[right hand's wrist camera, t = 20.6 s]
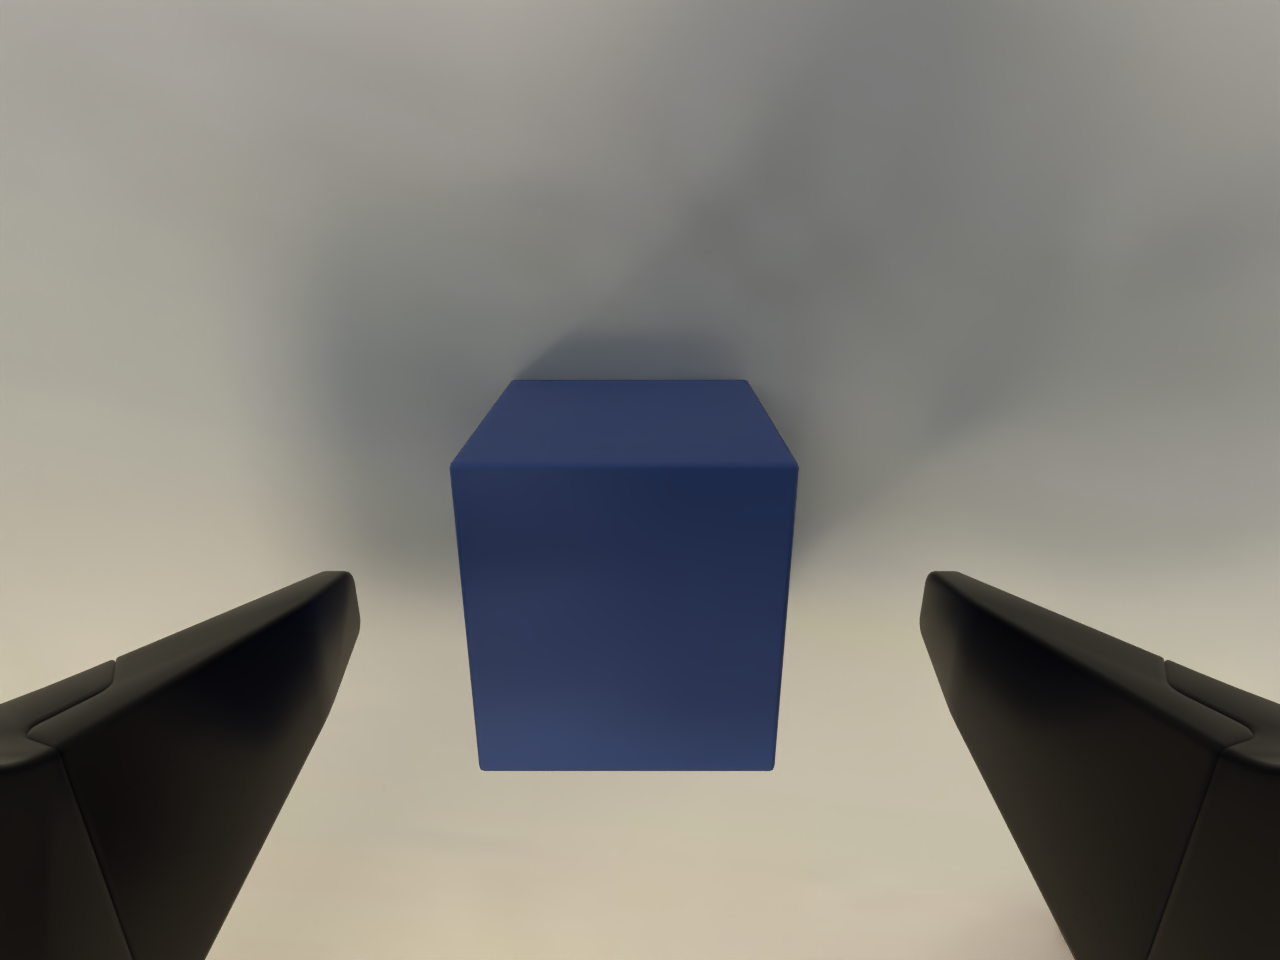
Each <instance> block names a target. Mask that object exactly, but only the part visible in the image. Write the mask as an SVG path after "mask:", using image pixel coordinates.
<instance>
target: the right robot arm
mask: <svg viewBox="0 0 1280 960" xmlns="http://www.w3.org/2000/svg"><path fill="white" fill-rule="evenodd" d="M359 630H360V614H359V607H358V601H357V595H356V588H355V582H354V579H353V576H352V575H351V574H350V573H349V572H346V571H324V572H321V573H318V574H316V575H313V576H311V577H309V578H306V579H304V580H302V581H299V582H297V583H294V584H292V585H290V586H287V587H285V588H282V589H280V590H278V591H275V592H273V593H270V594H268V595H266V596H263V597H261V598H259V599H256V600H254V601H251V602H249V603H247V604H244V605H242V606H239V607H237V608H235V609H232V610H230V611H227V612H225V613H223V614H220V615H218V616H215V617H213V618H211V619H208V620H206V621H204V622H201V623H199V624H196V625H194V626H192V627H189V628H187V629H184V630H182V631H180V632H177V633H175V634H172V635H170V636H168V637H165V638H163V639H161V640H158V641H156V642H153V643H151V644H149V645H146V646H144V647H141V648H139V649H137V650H134V651H132V652H129V653H127V654H125V655H122V656H120V657H118V658H117V659H116V662H115V661H114V660H110V661H108V662H105V663H103V664H101V665H98V666H96V667H93V668H91V669H89V670H86V671H84V672H81V673H79V674H76V675H74V676H71V677H69V678H66V679H64V680H61V681H59V682H57V683H54V684H52V685H49V686H47V687H44V688H41V689H39V690H36V691H34V692H31V693H28V694H26V695H23V696H20V697H18V698H15V699H13V700H10V701H7V702H5V703H2V704H0V960H205V959H206V957H207V955H208V953H209V951H210V949H211V947H212V945H213V943H214V941H215V939H216V937H217V935H218V933H219V931H220V929H221V927H222V925H223V923H224V921H225V919H226V917H227V915H228V913H229V911H230V909H231V907H232V905H233V903H234V901H235V899H236V897H237V895H238V893H239V891H240V889H241V887H242V885H243V884H244V882H245V880H246V878H247V876H248V874H249V872H250V870H251V868H252V866H253V864H254V862H255V860H256V858H257V856H258V854H259V852H260V850H261V848H262V846H263V844H264V842H265V840H266V838H267V836H268V834H269V832H270V830H271V828H272V826H273V824H274V822H275V820H276V818H277V816H278V814H279V812H280V810H281V808H282V806H283V804H284V802H285V801H286V799H287V797H288V795H289V793H290V791H291V789H292V787H293V785H294V783H295V781H296V779H297V777H298V775H299V773H300V771H301V769H302V767H303V765H304V763H305V761H306V759H307V757H308V755H309V753H310V751H311V749H312V747H313V745H314V743H315V741H316V739H317V737H318V735H319V733H320V731H321V729H322V727H323V725H324V723H325V721H326V719H327V717H328V715H329V713H330V710H331V708H332V705H333V703H334V700H335V698H336V695H337V692H338V689H339V686H340V684H341V681H342V678H343V675H344V673H345V670H346V667H347V664H348V662H349V659H350V656H351V653H352V651H353V648H354V645H355V642H356V640H357V637H358V634H359ZM920 630H921V634H922V637H923V640H924V642H925V645H926V648H927V651H928V653H929V656H930V659H931V662H932V664H933V667H934V670H935V673H936V675H937V678H938V681H939V684H940V686H941V689H942V692H943V695H944V698H945V700H946V703H947V705H948V708H949V710H950V713H951V715H952V717H953V719H954V721H955V723H956V725H957V727H958V729H959V731H960V733H961V735H962V737H963V739H964V741H965V743H966V745H967V747H968V749H969V751H970V753H971V755H972V757H973V759H974V761H975V763H976V765H977V767H978V769H979V771H980V773H981V775H982V777H983V779H984V781H985V783H986V785H987V787H988V789H989V791H990V793H991V795H992V797H993V799H994V801H995V803H996V804H997V806H998V808H999V810H1000V812H1001V814H1002V816H1003V818H1004V820H1005V822H1006V824H1007V826H1008V828H1009V830H1010V832H1011V834H1012V836H1013V838H1014V840H1015V842H1016V844H1017V846H1018V848H1019V850H1020V852H1021V854H1022V856H1023V858H1024V860H1025V862H1026V864H1027V866H1028V868H1029V870H1030V872H1031V874H1032V876H1033V878H1034V880H1035V882H1036V884H1037V885H1038V887H1039V889H1040V891H1041V893H1042V895H1043V897H1044V899H1045V901H1046V903H1047V905H1048V907H1049V909H1050V911H1051V913H1052V915H1053V917H1054V919H1055V921H1056V923H1057V925H1058V927H1059V929H1060V931H1061V933H1062V935H1063V937H1064V939H1065V941H1066V943H1067V945H1068V947H1069V949H1070V951H1071V953H1072V955H1073V957H1074V959H1075V960H1280V704H1278V703H1275V702H1273V701H1270V700H1267V699H1265V698H1262V697H1260V696H1257V695H1254V694H1252V693H1249V692H1246V691H1244V690H1241V689H1239V688H1236V687H1233V686H1231V685H1228V684H1226V683H1223V682H1221V681H1219V680H1216V679H1214V678H1211V677H1209V676H1206V675H1204V674H1201V673H1199V672H1196V671H1194V670H1191V669H1189V668H1187V667H1184V666H1182V665H1179V664H1177V663H1175V662H1172V661H1170V660H1166V661H1165V662H1164V659H1163V658H1162V657H1160V656H1158V655H1155V654H1153V653H1151V652H1148V651H1146V650H1143V649H1141V648H1139V647H1136V646H1134V645H1131V644H1129V643H1127V642H1124V641H1122V640H1119V639H1117V638H1115V637H1112V636H1110V635H1108V634H1105V633H1103V632H1100V631H1098V630H1096V629H1093V628H1091V627H1088V626H1086V625H1084V624H1081V623H1079V622H1076V621H1074V620H1072V619H1069V618H1067V617H1065V616H1062V615H1060V614H1057V613H1055V612H1053V611H1050V610H1048V609H1045V608H1043V607H1041V606H1038V605H1036V604H1033V603H1031V602H1029V601H1026V600H1024V599H1021V598H1019V597H1017V596H1014V595H1012V594H1010V593H1007V592H1005V591H1002V590H1000V589H998V588H995V587H993V586H990V585H988V584H986V583H983V582H981V581H978V580H976V579H974V578H971V577H969V576H967V575H964V574H962V573H959V572H956V571H934V572H931V573H930V574H929V575H928V576H927V579H926V582H925V588H924V595H923V601H922V607H921V614H920Z"/></svg>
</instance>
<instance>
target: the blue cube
mask: <svg viewBox="0 0 1280 960" xmlns="http://www.w3.org/2000/svg"><path fill="white" fill-rule="evenodd" d="M798 471H799V467H798V464H797V462H796V460H795V459H794V457H793V456H792V454H791V452H790V451H789V449H788V447H787V446H786V444H785V442H784V441H783V439H782V437H781V436H780V434H779V432H778V431H777V429H776V427H775V426H774V424H773V423H772V421H771V419H770V418H769V416H768V414H767V413H766V411H765V409H764V408H763V406H762V404H761V403H760V401H759V399H758V398H757V396H756V395H755V393H754V391H753V390H752V388H751V386H750V385H749V383H748V381H745V380H514V381H511V383H510V384H509V386H508V387H507V388H506V390H505V391H504V392H503V394H502V395H501V396H500V398H499V399H498V400H497V402H496V403H495V405H494V406H493V407H492V409H491V410H490V411H489V413H488V414H487V415H486V417H485V418H484V420H483V421H482V422H481V424H480V425H479V426H478V428H477V429H476V430H475V432H474V433H473V434H472V436H471V437H470V439H469V440H468V441H467V443H466V444H465V445H464V447H463V448H462V449H461V451H460V452H459V453H458V455H457V456H456V458H455V459H454V460H453V462H452V463H451V465H450V475H451V485H452V496H453V506H454V516H455V526H456V536H457V546H458V556H459V566H460V576H461V586H462V596H463V606H464V616H465V626H466V636H467V646H468V656H469V666H470V676H471V686H472V696H473V706H474V716H475V726H476V737H477V747H478V757H479V766H480V768H481V770H483V771H771V770H773V768H774V764H775V752H776V740H777V728H778V715H779V703H780V691H781V679H782V667H783V654H784V642H785V630H786V618H787V606H788V593H789V581H790V569H791V557H792V545H793V532H794V520H795V508H796V496H797V483H798Z"/></svg>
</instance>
